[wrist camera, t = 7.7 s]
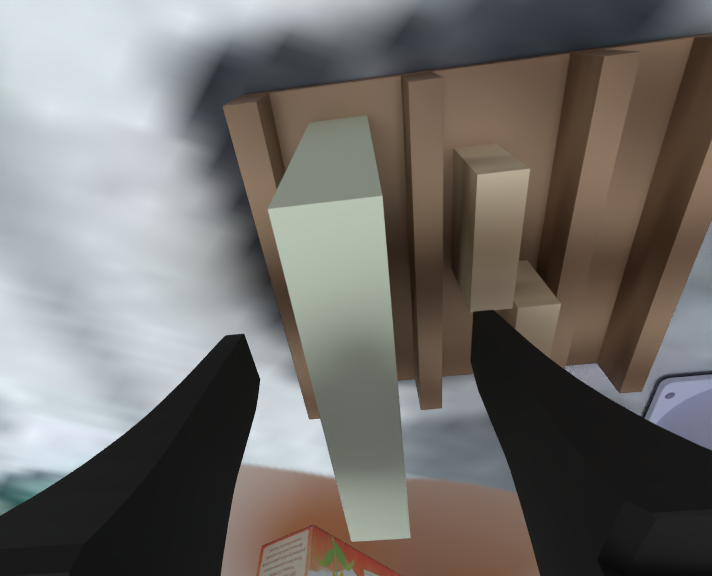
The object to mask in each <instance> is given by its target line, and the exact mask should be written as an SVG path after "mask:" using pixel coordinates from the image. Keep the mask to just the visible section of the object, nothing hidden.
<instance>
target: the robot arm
mask: <svg viewBox="0 0 712 576" xmlns="http://www.w3.org/2000/svg"><path fill="white" fill-rule="evenodd" d="M470 361H471V365H472V369H473V373H474V377H475V380H476V384H477V387H478V391H479V393H480V396H481V398H482V401H483V403H484V406H485V408H486V410H487V413H488V415H489V418H490V420H491V423H492V425H493V427H494V430H495V432H496V435H497V437H498V439H499V442H500V444H501V447H502V449H503V452H504V454H505V457H506V459H507V462H508V465H509V468H510V470H511V474H512V477H513V480H514V484H515V487H516V490H517V494H518V497H519V500H520V503H521V507H522V510H523V514H524V518H525V521H526V525H527V528H528V531H529V535H530V538H531V542H532V546H533V549H534V554H535V557H536V561H537V565H538V569H539V572H540V576H712V374H710V375H699V376H687V377H675V378H668V379H665V380H663V381H662V382H661V383H660V384H659V386H658V388H657V391H656V393H655V395H654V398H653V400H652V402H651V405H650V407H649V409H648V411H647V414H646V416H645V418H643V417H641V416H639V415H637V414H635V413H633V412H632V411H630V410H628V409H626V408H624V407H622V406H621V405H619V404H617V403H615V402H614V401H612V400H610V399H609V398H607V397H605V396H604V395H602V394H601V393H599V392H597V391H596V390H594V389H593V388H591V387H590V386H588V385H586V384H585V383H583V382H582V381H580V380H579V379H577V378H576V377H574V376H573V375H572V374H570V373H569V372H567V371H566V370H565V369H563V368H562V367H561V366H559V365H558V364H557V363H555V362H554V361H553V360H551V359H550V358H549V357H547V356H546V355H545V354H544V353H543V352H541V351H540V350H539V349H538V348H537V347H535V346H534V345H533V344H532V343H530V342H529V341H528V340H527V339H526V338H525V337H524V336H522V335H521V334H520V333H519V332H518V331H517V330H516V329H514V328H513V327H512V326H511V325H510V324H509V323H508V322H507V321H506V320H505V319H503V318H502V317H501V316H500V315H499V314H498V313H497V312H496V311H494V310H484V311H474V312H473V324H472V341H471V358H470ZM259 385H260V378H259V375H258V372H257V369H256V366H255V363H254V361H253V358H252V355H251V352H250V349H249V346H248V343H247V341H246V338H245V335H244V334H237V335H226V336H225V337H224V338H223V339H222V340H221V341H220V342H219V343H218V344H217V345H216V346H215V347H214V348H213V349H212V350H211V351H210V352H209V353H208V355H207V356H206V357H205V358H204V359H203V360H202V361H201V362H200V363H199V364H198V365H197V366H196V367H195V369H194V370H193V371H192V372H191V373H190V374H189V375H188V376H187V377H186V378H185V379H184V380H183V381H182V382H181V383H180V384H179V385H178V386H177V387H176V388H175V389H174V390H173V391H172V392H171V393H170V394H169V395H168V396H167V397H166V398H165V399H164V400H163V401H162V402H161V403H160V404H159V405H157V406H156V407H155V408H154V409H153V410H152V411H151V412H150V413H149V414H148V415H146V416H145V417H144V418H143V419H142V420H141V421H139V422H138V423H137V424H136V425H135V426H133V427H132V428H131V429H130V430H129V431H127V432H126V433H125V434H124V435H122V436H121V437H120V438H119V439H117V440H116V441H115V442H113V443H112V444H111V445H109V446H108V447H107V448H105V449H104V450H102V451H101V452H100V453H98V454H97V455H96V456H94V457H93V458H92V459H90V460H89V461H88V462H86V463H85V464H83V465H82V466H80V467H79V468H77V469H76V470H74V471H73V472H71V473H70V474H68V475H67V476H65V477H64V478H62V479H61V480H59V481H58V482H56V483H55V484H53V485H51V486H50V487H48V488H47V489H45V490H44V491H42V492H40V493H39V494H37V495H35V496H34V497H32V498H30V499H29V500H27V501H25V502H23V503H22V504H20V505H18V506H16V507H15V508H13V509H11V510H10V511H8V512H6V513H4V514H3V515H1V516H0V576H221V567H222V560H223V553H224V547H225V541H226V534H227V528H228V521H229V516H230V510H231V504H232V498H233V493H234V488H235V484H236V480H237V475H238V472H239V468H240V465H241V461H242V458H243V454H244V451H245V447H246V444H247V440H248V437H249V433H250V430H251V426H252V422H253V419H254V415H255V411H256V406H257V400H258V393H259Z"/></svg>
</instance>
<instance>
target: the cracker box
mask: <svg viewBox="0 0 712 576" xmlns="http://www.w3.org/2000/svg"><path fill="white" fill-rule="evenodd" d="M257 576H401V575H399V574H397V573H396V572H394V571H393V570H390V569H389V568H387V567H386V566H384V565H382V564H380V563H379V562H377V561H375V560H373V559H372V558H370V557H368V556H366V555H365V554H363V553H361V552H360V551H358V550H356V549H355V548H353V547H351V546H349V545H347V544H346V543H344V542H342V541H341V540H339V539H337V538H336V537H334V536H332V535H330V534H329V533H327V532H325V531H324V530H322V529H320V528H318V527H317V526H315V525H312V526H309V527H307V528H305V529H302V530H299V531H297V532H294V533H292V534H290V535H287V536H285V537H282V538H280V539H278V540H275V541H273V542H270V543H268V544H265V545H263V546H262V548H261V553H260V559H259V565H258V570H257Z"/></svg>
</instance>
